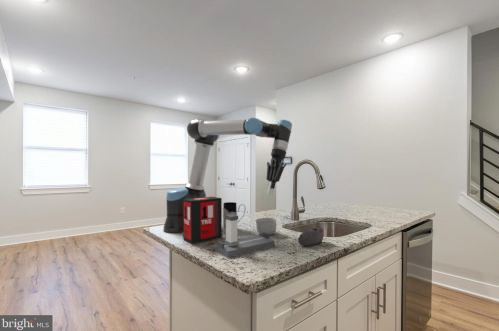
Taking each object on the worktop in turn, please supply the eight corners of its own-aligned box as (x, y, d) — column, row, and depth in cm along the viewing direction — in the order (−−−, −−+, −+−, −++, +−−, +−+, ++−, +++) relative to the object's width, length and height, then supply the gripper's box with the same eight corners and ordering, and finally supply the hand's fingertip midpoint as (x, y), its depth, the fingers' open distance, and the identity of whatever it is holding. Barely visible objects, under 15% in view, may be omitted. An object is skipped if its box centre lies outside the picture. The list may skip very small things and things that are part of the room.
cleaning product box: (212, 234, 131) (212, 196, 131) (221, 237, 124) (221, 198, 124) (183, 240, 120) (183, 199, 121) (191, 244, 113) (191, 201, 114)
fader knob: (224, 243, 105) (224, 215, 105) (232, 242, 107) (232, 214, 107) (230, 246, 101) (230, 216, 101) (238, 244, 103) (238, 215, 103)
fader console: (213, 249, 106) (213, 239, 106) (258, 239, 120) (258, 230, 120) (227, 257, 96) (227, 246, 96) (274, 246, 110) (274, 236, 110)
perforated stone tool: (302, 249, 106) (302, 233, 106) (294, 245, 110) (294, 230, 110) (327, 243, 113) (326, 228, 113) (318, 240, 118) (318, 226, 118)
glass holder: (220, 228, 143) (220, 202, 143) (242, 225, 150) (242, 201, 150) (225, 231, 135) (225, 204, 135) (248, 228, 142) (248, 202, 142)
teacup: (273, 237, 123) (273, 221, 123) (253, 236, 127) (253, 220, 127) (279, 231, 136) (279, 216, 137) (260, 229, 140) (260, 215, 140)
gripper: (293, 151, 123) (283, 197, 119) (276, 152, 134) (267, 194, 130) (282, 146, 119) (271, 194, 116) (266, 148, 130) (256, 191, 126)
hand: (269, 194), depth 123 cm, fingers closed
